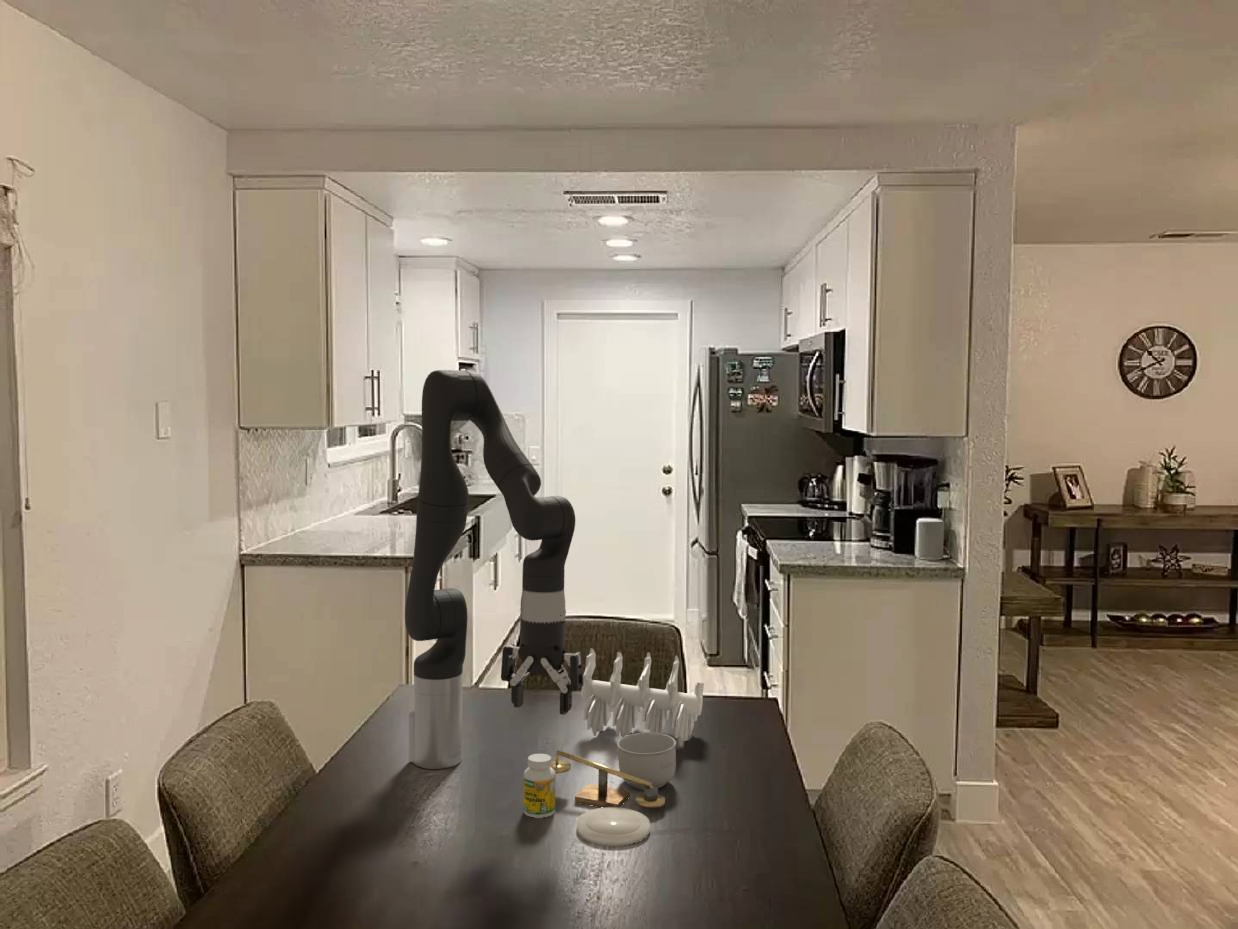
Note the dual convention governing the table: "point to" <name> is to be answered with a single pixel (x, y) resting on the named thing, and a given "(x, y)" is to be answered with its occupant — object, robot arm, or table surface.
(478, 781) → the table surface
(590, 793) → the balance
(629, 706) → the spiral staircase
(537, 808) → the supplement bottle
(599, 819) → the plate
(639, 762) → the teacup
